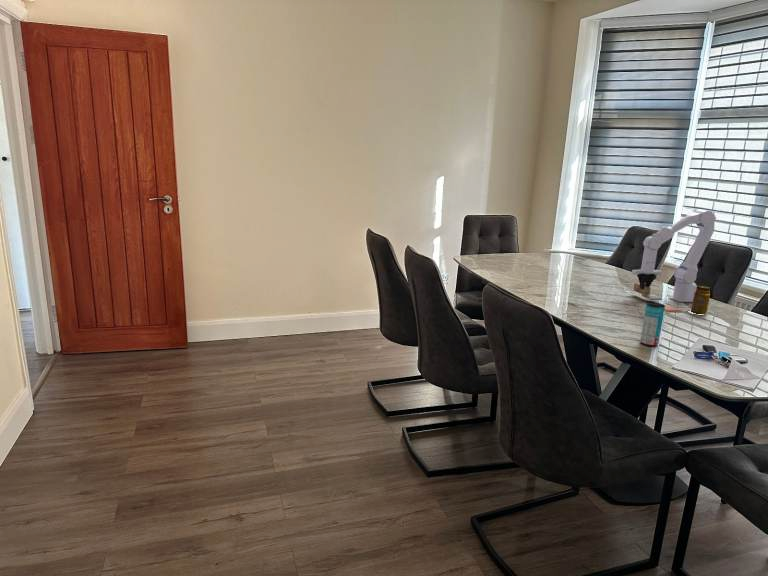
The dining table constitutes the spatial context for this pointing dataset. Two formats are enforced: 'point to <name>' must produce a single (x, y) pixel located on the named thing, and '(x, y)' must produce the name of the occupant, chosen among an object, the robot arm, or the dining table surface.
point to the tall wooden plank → (645, 292)
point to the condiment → (700, 300)
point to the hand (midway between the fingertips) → (644, 288)
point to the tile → (671, 309)
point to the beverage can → (652, 324)
